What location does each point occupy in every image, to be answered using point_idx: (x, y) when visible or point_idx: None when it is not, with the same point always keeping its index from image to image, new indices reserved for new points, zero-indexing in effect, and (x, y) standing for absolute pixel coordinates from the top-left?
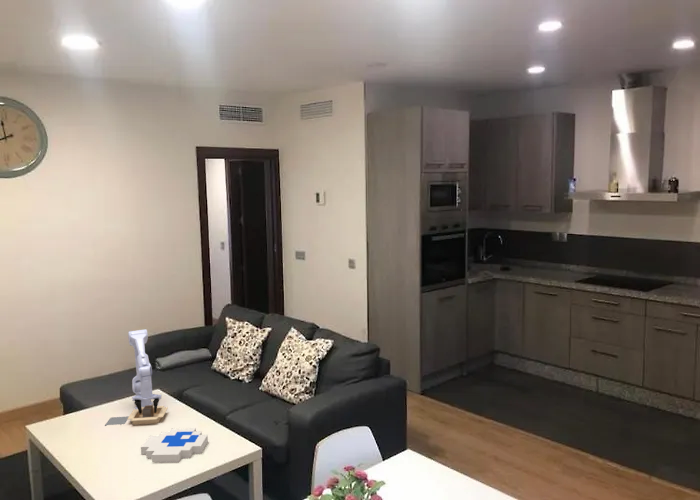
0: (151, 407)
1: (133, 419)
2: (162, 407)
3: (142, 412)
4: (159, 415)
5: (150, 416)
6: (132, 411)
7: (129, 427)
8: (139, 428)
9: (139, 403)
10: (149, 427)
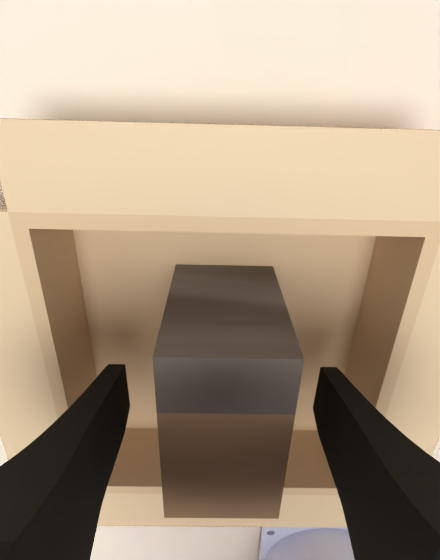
0: (162, 453)
1: (426, 179)
2: None
3: (294, 337)
4: (9, 271)
5: (168, 294)
6: (432, 450)
7: (437, 124)
8: (289, 49)
9: (403, 537)
10: (141, 60)
